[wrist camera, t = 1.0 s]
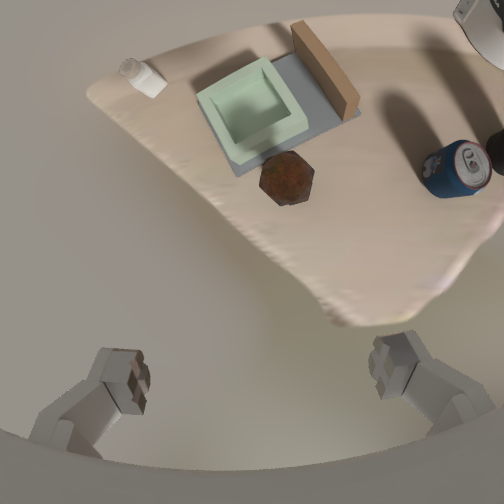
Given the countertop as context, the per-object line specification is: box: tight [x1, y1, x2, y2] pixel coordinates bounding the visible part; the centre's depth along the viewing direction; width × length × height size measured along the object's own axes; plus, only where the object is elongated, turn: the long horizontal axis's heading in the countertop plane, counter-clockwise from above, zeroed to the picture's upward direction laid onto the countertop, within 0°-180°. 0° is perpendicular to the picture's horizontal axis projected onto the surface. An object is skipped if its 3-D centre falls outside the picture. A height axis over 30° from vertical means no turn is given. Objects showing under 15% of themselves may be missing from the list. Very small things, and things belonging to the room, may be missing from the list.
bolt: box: [259, 151, 315, 206], centre depth 37 cm, size 6×5×15 cm
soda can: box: [422, 140, 492, 198], centre depth 33 cm, size 7×7×12 cm
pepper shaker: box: [119, 58, 167, 98], centre depth 42 cm, size 4×4×10 cm
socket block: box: [196, 56, 309, 165], centre depth 41 cm, size 12×12×5 cm
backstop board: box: [198, 20, 361, 177], centre depth 39 cm, size 21×14×9 cm, turn 118°
